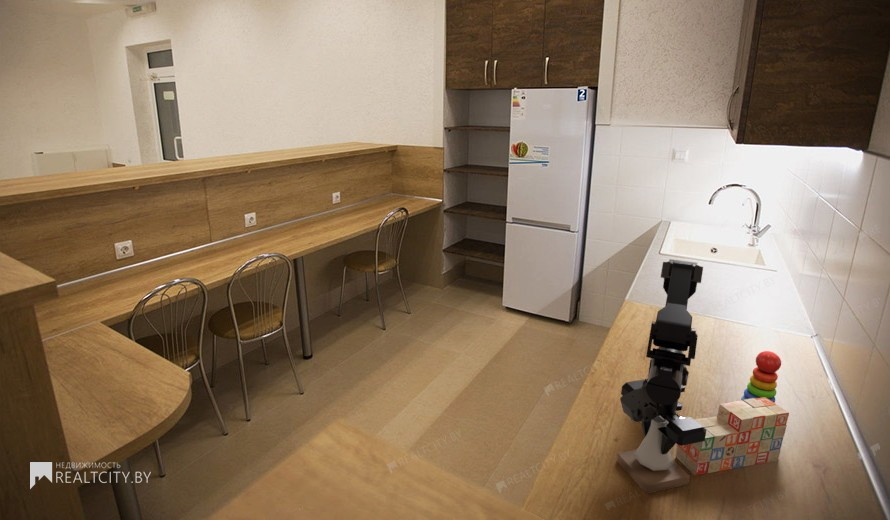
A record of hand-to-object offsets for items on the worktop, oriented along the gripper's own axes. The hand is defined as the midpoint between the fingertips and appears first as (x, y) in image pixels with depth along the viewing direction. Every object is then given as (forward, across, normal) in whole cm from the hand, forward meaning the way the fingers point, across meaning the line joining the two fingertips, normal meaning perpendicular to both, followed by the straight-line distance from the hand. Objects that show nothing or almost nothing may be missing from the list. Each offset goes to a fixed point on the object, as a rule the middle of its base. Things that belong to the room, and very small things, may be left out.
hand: (655, 445), depth 104 cm
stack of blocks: (+7, +1, +19) cm, 20 cm away
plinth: (+6, 0, 0) cm, 7 cm away
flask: (+4, 0, 0) cm, 4 cm away
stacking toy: (+7, -9, +36) cm, 38 cm away
